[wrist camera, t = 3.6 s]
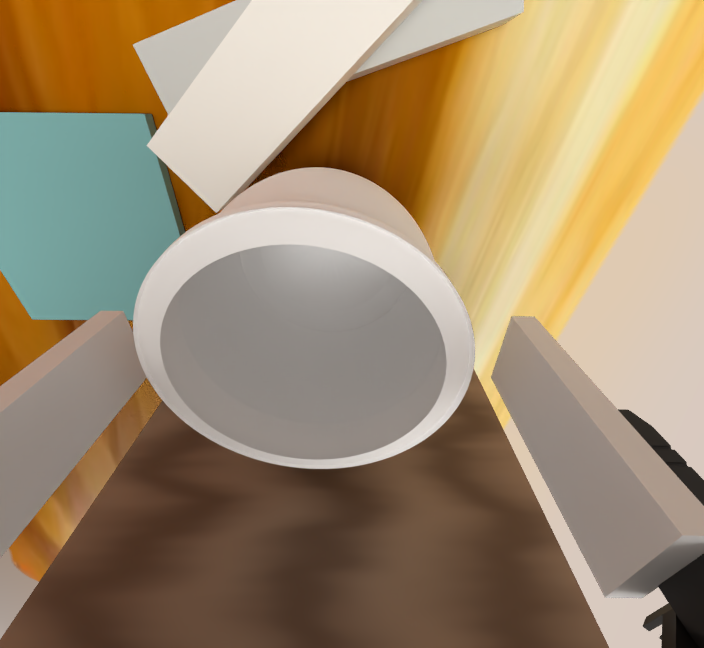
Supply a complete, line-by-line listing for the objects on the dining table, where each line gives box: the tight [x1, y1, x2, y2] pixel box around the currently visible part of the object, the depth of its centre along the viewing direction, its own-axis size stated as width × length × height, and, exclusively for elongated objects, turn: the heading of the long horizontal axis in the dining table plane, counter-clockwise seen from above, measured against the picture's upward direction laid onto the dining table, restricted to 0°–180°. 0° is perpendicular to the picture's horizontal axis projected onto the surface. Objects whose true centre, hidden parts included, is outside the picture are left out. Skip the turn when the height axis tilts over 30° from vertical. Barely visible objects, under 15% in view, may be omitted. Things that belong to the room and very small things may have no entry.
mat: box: [0, 112, 185, 320], centre depth 22 cm, size 14×14×1 cm
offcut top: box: [147, 0, 423, 213], centre depth 14 cm, size 18×4×3 cm, turn 130°
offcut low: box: [133, 0, 524, 115], centre depth 16 cm, size 18×4×3 cm, turn 106°
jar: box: [133, 167, 475, 469], centre depth 16 cm, size 11×10×15 cm
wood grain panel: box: [0, 368, 609, 648], centre depth 20 cm, size 19×7×20 cm, turn 90°
